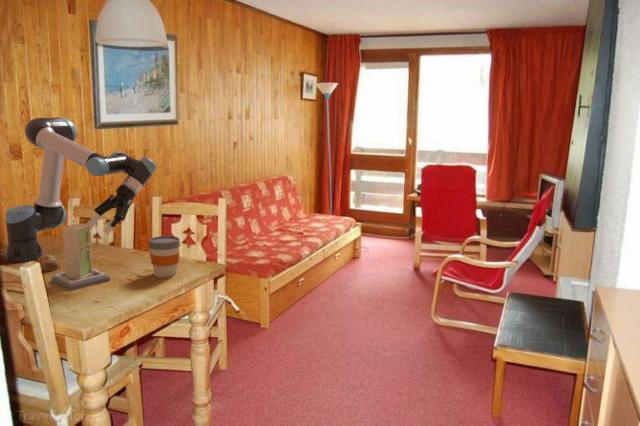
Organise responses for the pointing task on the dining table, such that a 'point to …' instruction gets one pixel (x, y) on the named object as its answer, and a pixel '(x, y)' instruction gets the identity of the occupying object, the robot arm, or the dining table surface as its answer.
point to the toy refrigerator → (77, 251)
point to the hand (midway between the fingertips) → (96, 229)
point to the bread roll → (48, 263)
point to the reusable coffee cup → (164, 255)
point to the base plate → (75, 284)
